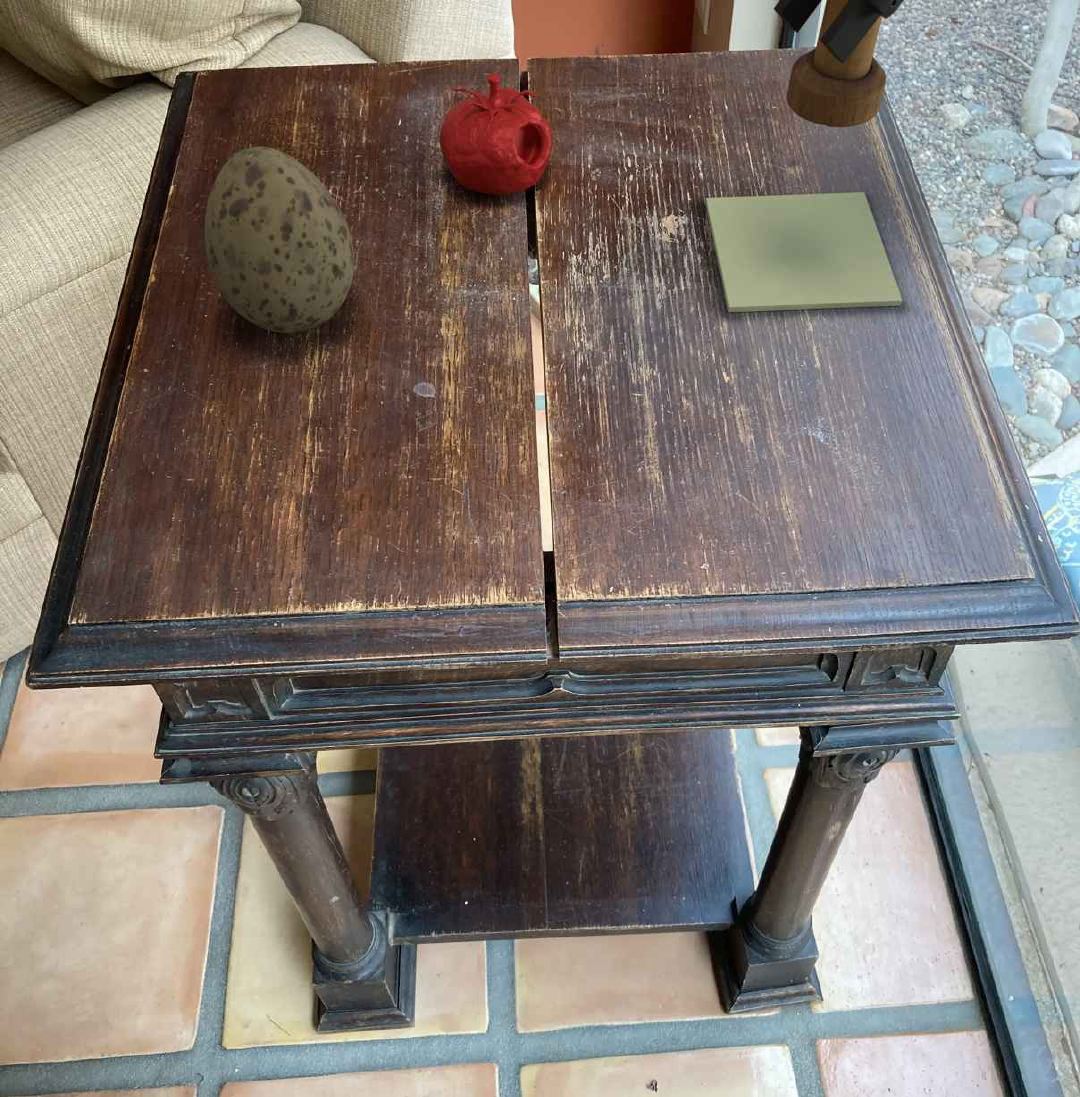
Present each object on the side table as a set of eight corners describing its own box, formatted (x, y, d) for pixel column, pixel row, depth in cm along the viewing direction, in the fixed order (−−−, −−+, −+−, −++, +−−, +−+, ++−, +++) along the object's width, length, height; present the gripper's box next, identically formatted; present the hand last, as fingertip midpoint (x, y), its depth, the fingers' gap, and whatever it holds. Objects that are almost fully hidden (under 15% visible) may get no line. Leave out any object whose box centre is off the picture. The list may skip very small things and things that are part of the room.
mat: (900, 305, 85) (902, 300, 84) (727, 312, 84) (728, 306, 84) (862, 197, 93) (864, 191, 92) (704, 203, 92) (705, 197, 92)
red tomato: (437, 208, 93) (426, 112, 85) (449, 141, 98) (440, 45, 91) (549, 211, 92) (548, 115, 84) (555, 143, 98) (555, 47, 90)
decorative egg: (210, 304, 86) (152, 140, 74) (329, 256, 89) (293, 92, 77) (264, 384, 81) (211, 222, 68) (388, 330, 84) (359, 166, 71)
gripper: (1211, -238, 60) (917, 121, 68) (988, -321, 68) (751, 8, 77) (1197, -337, 54) (877, 70, 62) (955, -415, 62) (702, -46, 71)
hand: (808, 35), depth 69 cm, fingers closed on mortar and pestle, 4 cm apart
